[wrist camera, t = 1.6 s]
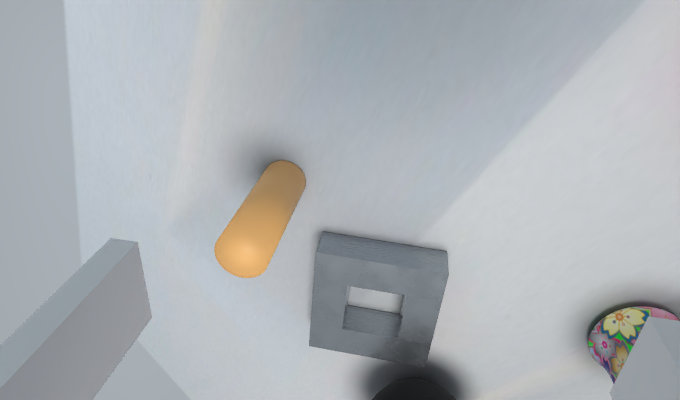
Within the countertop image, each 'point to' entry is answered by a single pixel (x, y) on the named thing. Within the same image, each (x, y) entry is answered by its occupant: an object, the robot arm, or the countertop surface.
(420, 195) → the countertop surface
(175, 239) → the countertop surface
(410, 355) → the grey peg socket
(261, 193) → the orange cylindrical peg
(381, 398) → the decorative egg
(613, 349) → the mug
